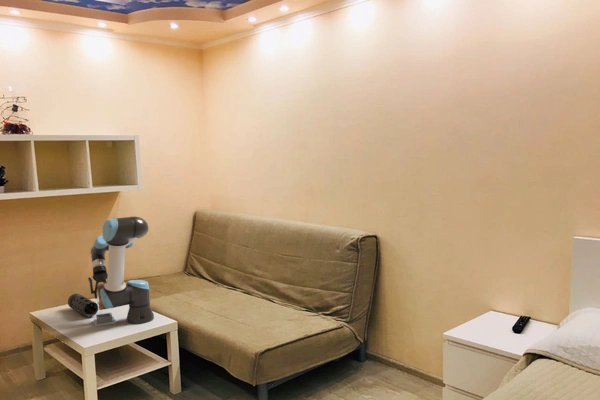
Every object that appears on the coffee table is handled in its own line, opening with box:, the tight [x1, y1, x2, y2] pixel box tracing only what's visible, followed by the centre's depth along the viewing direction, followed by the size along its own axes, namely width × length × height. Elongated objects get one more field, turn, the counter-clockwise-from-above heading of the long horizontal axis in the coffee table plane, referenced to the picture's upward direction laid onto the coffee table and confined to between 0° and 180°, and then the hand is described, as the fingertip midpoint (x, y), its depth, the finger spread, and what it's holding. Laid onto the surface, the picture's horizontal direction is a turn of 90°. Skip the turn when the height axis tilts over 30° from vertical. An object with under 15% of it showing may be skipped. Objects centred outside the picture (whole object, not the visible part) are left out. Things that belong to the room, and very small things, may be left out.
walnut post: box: [97, 283, 108, 311], centre depth 285 cm, size 4×4×14 cm
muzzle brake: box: [67, 293, 99, 319], centre depth 304 cm, size 10×28×10 cm, turn 43°
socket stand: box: [93, 312, 116, 327], centre depth 285 cm, size 11×11×4 cm
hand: (103, 302), depth 282 cm, fingers closed on walnut post, 4 cm apart
